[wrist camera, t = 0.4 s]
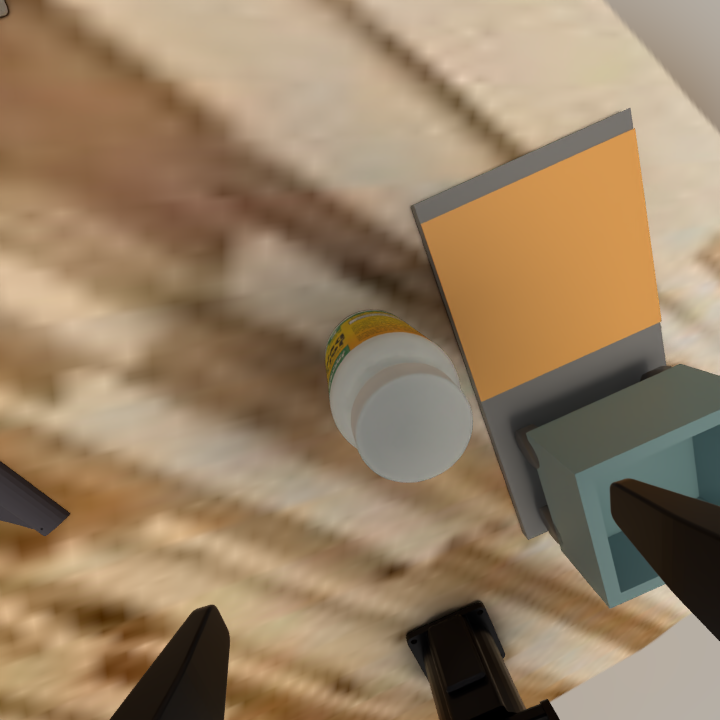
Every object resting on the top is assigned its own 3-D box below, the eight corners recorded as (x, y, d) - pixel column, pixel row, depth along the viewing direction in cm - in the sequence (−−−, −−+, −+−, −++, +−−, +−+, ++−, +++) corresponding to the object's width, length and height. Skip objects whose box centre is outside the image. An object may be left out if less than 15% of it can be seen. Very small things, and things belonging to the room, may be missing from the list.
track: (672, 466, 26) (682, 472, 26) (523, 533, 26) (528, 541, 26) (620, 112, 19) (631, 106, 18) (410, 206, 19) (414, 204, 18)
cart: (669, 474, 25) (770, 537, 20) (544, 530, 25) (609, 608, 20) (651, 355, 22) (764, 389, 17) (509, 418, 22) (574, 474, 17)
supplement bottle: (412, 394, 22) (484, 496, 13) (325, 398, 21) (334, 509, 12) (417, 306, 20) (503, 351, 11) (323, 307, 20) (332, 356, 11)
